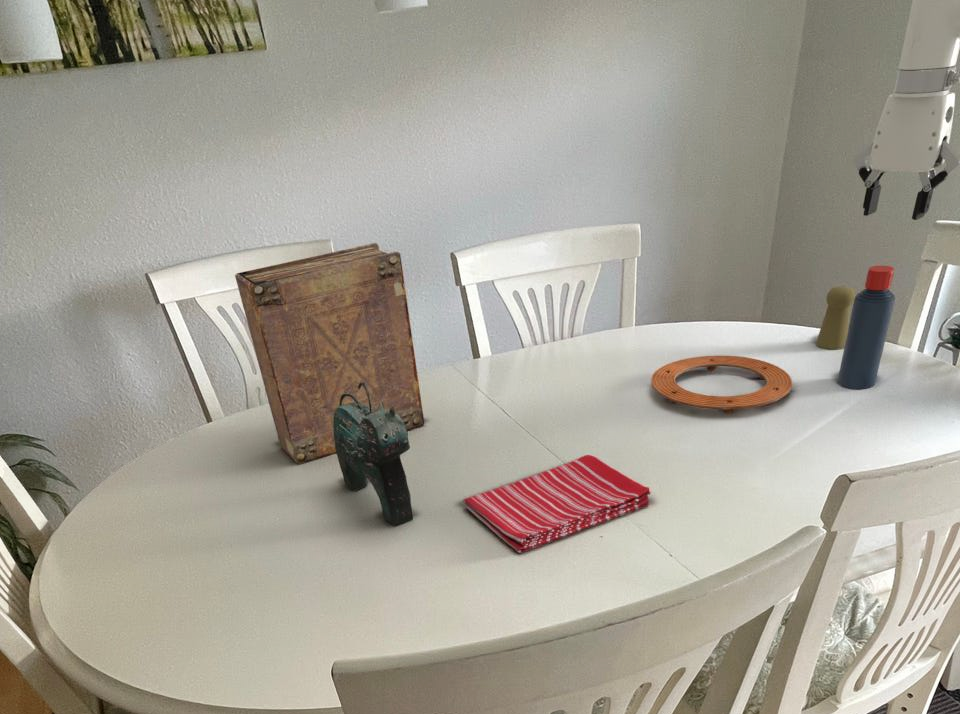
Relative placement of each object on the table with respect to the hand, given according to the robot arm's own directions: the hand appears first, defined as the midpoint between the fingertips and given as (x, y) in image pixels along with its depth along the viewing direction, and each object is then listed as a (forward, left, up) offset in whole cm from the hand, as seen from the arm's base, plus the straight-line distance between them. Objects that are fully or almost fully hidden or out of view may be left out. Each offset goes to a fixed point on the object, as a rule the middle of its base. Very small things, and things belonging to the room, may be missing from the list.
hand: (893, 215), depth 127 cm
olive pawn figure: (+13, -16, -28) cm, 35 cm away
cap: (0, 0, -11) cm, 11 cm away
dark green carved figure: (+36, +85, -28) cm, 96 cm away
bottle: (0, 0, -28) cm, 28 cm away
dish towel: (+13, +68, -28) cm, 75 cm away
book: (+60, +72, -28) cm, 98 cm away
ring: (+18, +17, -28) cm, 37 cm away
